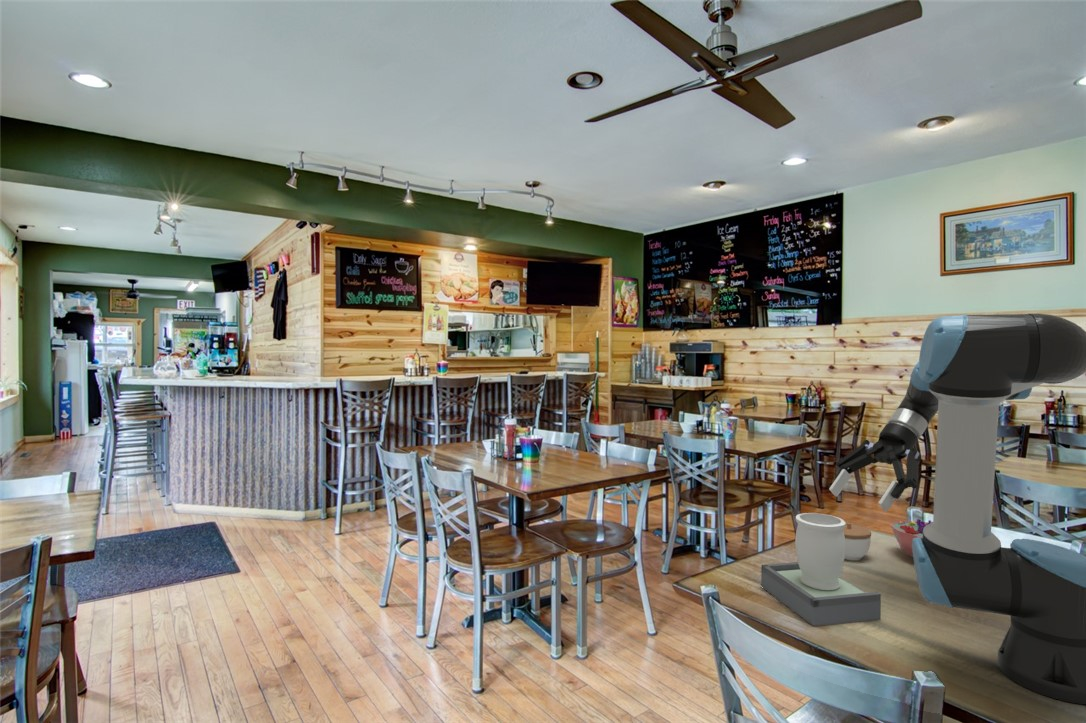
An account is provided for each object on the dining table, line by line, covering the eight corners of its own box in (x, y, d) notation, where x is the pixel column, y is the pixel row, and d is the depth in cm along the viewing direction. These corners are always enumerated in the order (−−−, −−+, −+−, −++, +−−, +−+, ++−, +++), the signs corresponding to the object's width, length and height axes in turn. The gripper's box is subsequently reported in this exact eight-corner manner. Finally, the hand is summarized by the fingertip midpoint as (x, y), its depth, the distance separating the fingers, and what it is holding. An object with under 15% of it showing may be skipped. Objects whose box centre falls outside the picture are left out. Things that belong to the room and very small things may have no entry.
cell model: (907, 544, 170) (907, 506, 169) (988, 565, 153) (988, 523, 153) (878, 556, 160) (878, 516, 160) (960, 580, 144) (961, 535, 143)
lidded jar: (821, 556, 160) (821, 523, 160) (836, 547, 168) (836, 515, 167) (862, 567, 152) (863, 532, 152) (876, 556, 160) (876, 523, 159)
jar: (851, 595, 125) (852, 527, 125) (801, 591, 128) (801, 524, 127) (837, 576, 136) (837, 513, 135) (790, 572, 138) (790, 511, 138)
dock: (880, 619, 123) (880, 594, 123) (813, 626, 120) (813, 600, 120) (820, 581, 143) (820, 560, 143) (761, 587, 140) (761, 564, 140)
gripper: (962, 450, 129) (915, 524, 124) (865, 434, 152) (823, 496, 148) (946, 428, 127) (897, 503, 122) (850, 415, 150) (806, 478, 146)
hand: (856, 499), depth 135 cm, fingers open, 13 cm apart
